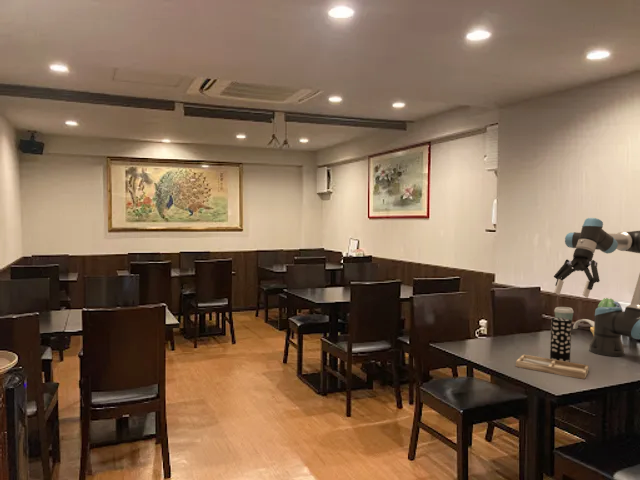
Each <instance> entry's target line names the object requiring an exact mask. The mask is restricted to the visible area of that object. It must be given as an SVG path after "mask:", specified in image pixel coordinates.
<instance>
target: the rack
mask: <svg viewBox="0 0 640 480" xmlns="http://www.w3.org/2000/svg"><path fill="white" fill-rule="evenodd" d="M516 367H517V368H522V369H527V370H531V371H538V372H543V373H549V374H553V373H554V374H555V375H560V376H564V377H570V378H575V379H582V380H585V379H586V377H587V375H588V373H589V368H590V365H588V364H583V363H577V362H571V361H570V362H565V361H559V360H554V359H550V358H546V357H541V356H536V355H529V354H522V355H521V356H520V357H519V358H518V359H517V360H515V368H516Z"/></svg>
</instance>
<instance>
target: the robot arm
mask: <svg viewBox="0 0 640 480" xmlns="http://www.w3.org/2000/svg"><path fill="white" fill-rule="evenodd" d="M603 225H604V221H602V220H601V219H599V218H596V217H588V218H586V219H584V222H583V224H582V226H581V227H582V228H581V230H580V232H577V231H576V232H568V233H567V234H566V235H565V237H564V244H565V246H566V247H567V248H570V249H574V251H573V254H572V257H573V258H572V259H571V260H569V259H566V260H565V261H564V263H563V265H562V266H561V267H560V268H559V270H557V272H556V273H555V275H553V277H554V278H555V280H556V282H555V284H554V285H555V289H554V293H555V294H556V295H558V296H560V294H561V292H562V288H563V286H564V282H565V281H564V280H565V279H566V278H568V277H569V276H570V275H571V274H573V273H576V271H577V272H584V274H585V276H586V277H587V280H586V283H585V285H584V287H583V288H584V289H583V291H582V296H583V297H584V298H587V299H589V295H590V292H591V291H592V290H593V288H594V284H596V283H600V281H601V280H600V276H599V272H598V270H599V269H598V262H597V261H595V260H594V259H593V258H594V253H596V250H598V251H601V252H602V253H604V254H612V253H614V252H615V251H616V250H618V251H622V252H629V253H634V254H640V230H633V231H620V232H617V233H609V232H607V231H605V230H604V229H603ZM589 267H590V268H589ZM590 269H591V272H590ZM636 281H637V282H636V285H635V288H634V291H633V294H632V298H631V302H630V304H629V305H627V306H625V309H624V310H623V308H620V307H598V306H597V308H595V312H594V336H593V338H592V339H591V342H590V344H589V349H588V350H589V352H591V353H594V354H596V355H601V356H608V357H624V356H625V348H624V345H623V342H622V336H623V337H626V338H632V339H634V340H640V273H639V274H638V277H637V280H636Z"/></svg>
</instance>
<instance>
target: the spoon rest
mask: <svg viewBox="0 0 640 480" xmlns="http://www.w3.org/2000/svg"><path fill="white" fill-rule="evenodd" d="M594 321H595V320H594ZM594 321H593V320H591V319H588V318H587V319H586V318H582V319H578V320H576V321H575V322H574V324H573V326H572V329H573V330H577V329H578V328H579V324H580V323H582V322H586V323H587V324H589V325H590V327H594Z"/></svg>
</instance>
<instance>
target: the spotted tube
mask: <svg viewBox="0 0 640 480" xmlns="http://www.w3.org/2000/svg"><path fill="white" fill-rule="evenodd" d="M572 321H573V319H572V320H570V319H566V318H555V317H551V323H550V324H551V325H550V346H549V347H550V348H549V349H550V350H549V359H554V360H559V361H565V362H571V347H572V346H571V345H572V325H573V324H572Z"/></svg>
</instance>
